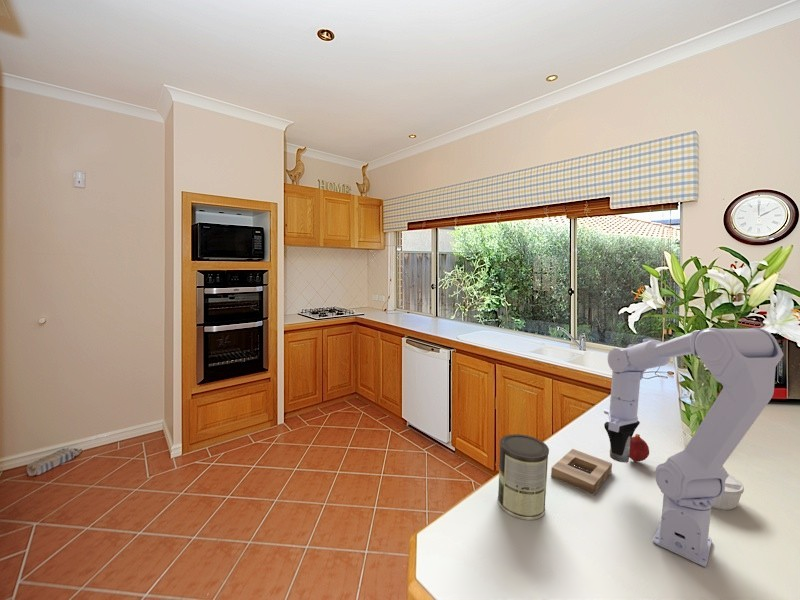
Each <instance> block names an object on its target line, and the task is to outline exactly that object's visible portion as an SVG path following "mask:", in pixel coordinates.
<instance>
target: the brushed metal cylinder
mask: <svg viewBox="0 0 800 600" xmlns="http://www.w3.org/2000/svg"><path fill="white" fill-rule="evenodd" d="M630 438H631V436H629V437H628V439H627V442H626V445H625V449H624V452H623V455H622V456H620V455H617V454H614V453H612V450H611V445H610V449H609V457H610V458H611V459H612V460H614V461H615V462H618V463H628V462H629V460H630V457H629V451H630Z"/></svg>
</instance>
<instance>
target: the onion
mask: <svg viewBox="0 0 800 600" xmlns="http://www.w3.org/2000/svg"><path fill="white" fill-rule="evenodd" d="M649 455H650V447H649V445H648V444H647V442H646V441H645V440H644V439H643V438H642V437H641V436H640V434H639V433H635V435H634V436H632V439H631V442H630V451H629V459H631V461H633V462H634V463H639V462H642V461H645V460H646V459H647V458H648V457H649Z"/></svg>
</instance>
